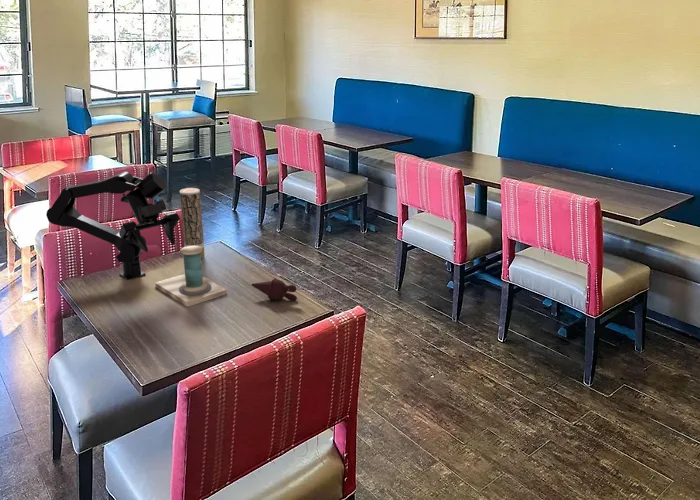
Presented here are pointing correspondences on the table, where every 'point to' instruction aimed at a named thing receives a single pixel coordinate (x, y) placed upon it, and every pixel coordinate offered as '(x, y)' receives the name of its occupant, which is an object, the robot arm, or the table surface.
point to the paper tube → (192, 218)
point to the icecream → (276, 289)
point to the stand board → (188, 299)
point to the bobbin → (193, 269)
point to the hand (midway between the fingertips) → (160, 247)
